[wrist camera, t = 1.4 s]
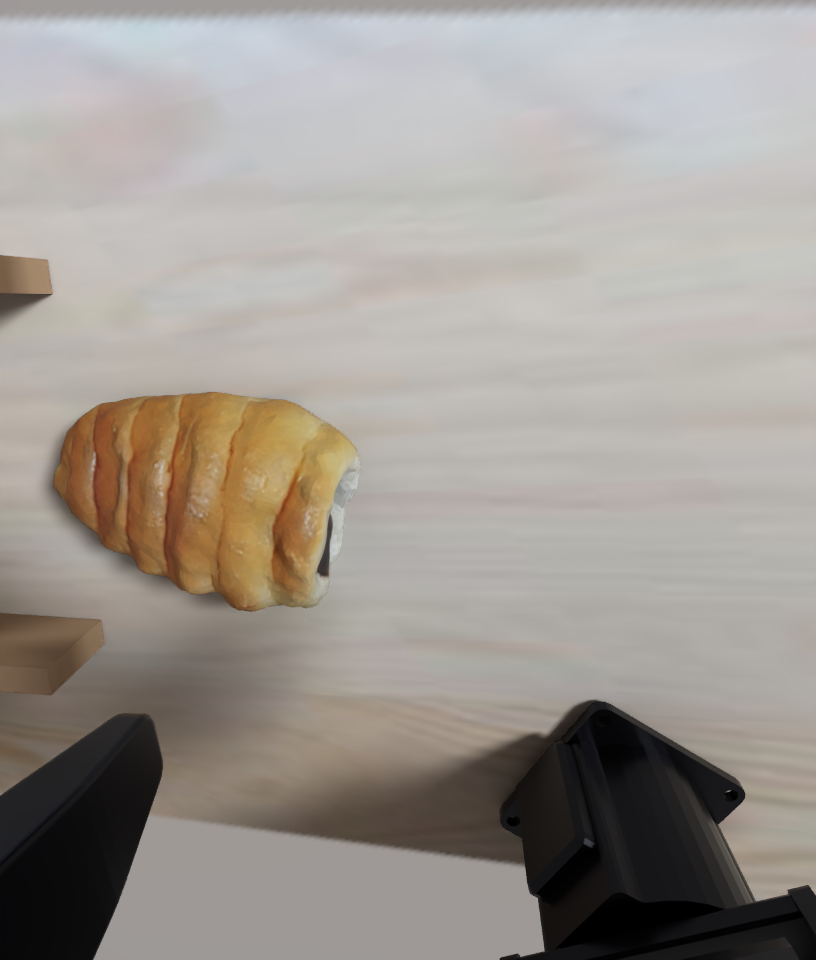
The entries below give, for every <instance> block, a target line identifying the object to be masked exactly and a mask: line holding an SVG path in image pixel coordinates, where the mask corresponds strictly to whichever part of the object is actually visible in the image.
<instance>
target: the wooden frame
mask: <svg viewBox="0 0 816 960" xmlns="http://www.w3.org/2000/svg"><path fill="white" fill-rule="evenodd" d="M0 293H17V294H52V288H51V281H50V274H49V268H48V261H47V260H45V259H35V258H24V257H14V256H3V255H0ZM103 645H104V638H103V631H102V624H101V620H90V619H75V618H61V617H46V616H31V615H17V614H2V613H0V691H3V692H15V693H28V694H41V695H52V694H53V693H54V692H55V691H56V690H57V689H58V688H59V687H60V686H61V685H62V684H64V683H65V682H66V681H67V680H68V679H69V678H70V677H71V676H72V675H73V674H74V673H75V672H76V671H77V670H78V669H79V668H80V667H81V666H82V665H83V664H84V663H85V662H86V661H87V660H88V659H89V658H90V657H91V656H92V655H93V654H94V653H95V652H96V651H98V650H99V649H100V648H101V647H102V646H103Z"/></svg>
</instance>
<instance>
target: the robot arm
mask: <svg viewBox="0 0 816 960" xmlns="http://www.w3.org/2000/svg"><path fill="white" fill-rule="evenodd" d="M601 715H606V716H607V717H606V718H605V719H601V720H600V719H597V718H598V717H599V716H601ZM162 770H163V760H162V754H161V750H160V746H159V742H158V737H157V733H156V729H155V725H154V721H153V719H152V718H151V716H149V715H147V714H134V713H123V714H118V715H116V716H114V717H113V718H111V719H110V720H108V721H107V722H105V723H104V724H102V725H101V726H100V727H98V728H97V729H95V730H94V731H92V732H91V733H89V734H88V735H87V736H85V737H84V738H82V739H81V740H79V741H78V742H77V743H75V744H74V745H72V746H71V747H69V748H68V749H66V750H65V751H64V752H62V753H61V754H59V755H58V756H56V757H55V758H53V759H52V760H51V761H49V762H48V763H46V764H45V765H43V766H42V767H41V768H39V769H38V770H36V771H35V772H33V773H32V774H30V775H29V776H28V777H26V778H25V779H23V780H22V781H20V782H19V783H18V784H16V785H15V786H13V787H12V788H10V789H9V790H7V791H6V792H5V793H3V794H2V795H0V960H93V959H94V957H95V955H96V952H97V950H98V948H99V945H100V943H101V941H102V939H103V937H104V934H105V932H106V930H107V928H108V925H109V923H110V920H111V918H112V916H113V914H114V911H115V909H116V907H117V904H118V902H119V899H120V896H121V894H122V890H123V888H124V885H125V883H126V880H127V876H128V874H129V871H130V868H131V865H132V862H133V859H134V856H135V853H136V851H137V848H138V845H139V842H140V839H141V836H142V833H143V830H144V827H145V824H146V821H147V818H148V815H149V812H150V809H151V807H152V804H153V801H154V798H155V795H156V792H157V789H158V786H159V783H160V780H161V776H162ZM728 790H731V791H730V792H726V791H728ZM725 792H726V793H725ZM744 799H745V792H744V789H743V788H742V786H741V784H740V783H739V781H738V780H737V779H736V778H734V777H733V776H731V775H729V774H728V773H726V772H724V771H723V770H721V769H719V768H717V767H716V766H714V765H712V764H711V763H709V762H707V761H706V760H704V759H702V758H701V757H699V756H697V755H696V754H694V753H692V752H690V751H689V750H687V749H685V748H684V747H682V746H680V745H679V744H677V743H675V742H674V741H672V740H670V739H668V738H667V737H665V736H663V735H662V734H660V733H658V732H657V731H655V730H653V729H652V728H650V727H648V726H647V725H645V724H643V723H641V722H640V721H638V720H636V719H635V718H633V717H631V716H630V715H628V714H626V713H625V712H623V711H621V710H619V709H618V708H616V707H614V706H613V705H611V704H609V703H606V702H597V703H594V704H592V705H591V706H590V707H589V708H588V709H587V710H586V711H585V712H584V713H583V715H582V716H581V717H580V718H579V719H578V720H577V721H576V723H575V724H574V725H573V726H572V727H571V728H570V729H569V730H568V732H567V733H566V734H565V735H564V736H563V737H562V738H561V739H560V741H558V742H556V743H554V744H553V745H552V746H551V747H550V748H549V749H548V751H547V752H546V753H545V754H544V755H543V756H542V757H541V758H540V760H539V761H538V762H537V763H536V764H535V765H534V766H533V768H532V769H531V770H530V771H529V772H528V773H527V774H526V775H525V777H524V778H523V779H522V780H521V781H520V782H519V783H518V785H517V787H516V790H515V791H514V793H513V794H512V795H511V796H510V797H509V798H508V799H507V801H506V802H505V803H504V804H503V805H502V806H501V808H500V823H501V825H502V827H504V828H505V829H506V830H508V831H510V832H512V833H513V834H515V835H517V836H519V837H521V838H522V842H523V851H524V859H525V868H526V876H527V884H528V888H529V892H530V894H532V895H533V896H535V897H537V898H538V902H539V910H540V918H541V926H542V933H543V941H544V948H545V951H544V952H540V953H536V954H531V955H527V956H523V957H520V955H519V954H514V955H510V956H506V957H501V958H500V960H816V895H815V894H814V892H813V891H812V890H811V888H810V887H809V885H806V886H802V887H798V888H793V889H789V890H787V891H788V894H787V895H783V896H778V897H774V898H770V899H766V900H761V901H757V902H756V900H755V898H754V896H753V894H752V892H751V890H750V888H749V886H748V884H747V882H746V880H745V878H744V876H743V874H742V872H741V870H740V868H739V866H738V864H737V862H736V860H735V858H734V856H733V854H732V852H731V850H730V848H729V845H728V843H727V841H726V839H725V837H724V835H723V833H722V831H721V829H720V827H719V825H718V824H719V823H720V822H722V821H723V820H724V819H725V818H726V817H727V816H728V815H729V814H730V813H731V812H732V811H733V810H734V809H735V808H736V807H738V806H739V805H740V804H741V803H742V802H743V800H744ZM510 816H516V817H510Z"/></svg>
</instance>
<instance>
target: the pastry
mask: <svg viewBox="0 0 816 960" xmlns="http://www.w3.org/2000/svg"><path fill="white" fill-rule="evenodd" d="M360 470H361V466H360V460H359V456H358V453H357V449H356V447H355V446H354V445H353V444H352V442H351V441H350V440H349V439H348V438H347V437H346V436H345V435H344V434H343V433H341V432H340V431H339V430H337V429H336V428H335V427H333V426H332V425H330V424H328V423H326V422H325V421H323V420H321V419H320V418H318V417H317V416H315V415H314V414H312V413H311V412H309V411H307V410H306V409H304V408H303V407H301V406H300V405H298V404H295V403H292V402H289V401H286V400H275V399H267V398H254V397H245V396H237V395H231V394H226V393H218V392H207V393H200V394H182V395H164V396H143V397H137V398H130V399H124V400H120V401H117V402H109V403H102V404H100V405H98V406H96V407H94V408H93V409H92V410H90V411H89V412H88V413H86V414H85V415H83V416H82V417H81V418H79V420H78V421H77V422H76V423H75V424H74V425H73V426H72V427H71V428H70V429H69V431H68V432H67V434H66V437H65V441H64V444H63V448H62V452H61V460H60V464H59V466H58V468H57V469H56V471H55V475H54V480H53V486H54V488H55V489H56V490H57V492H58V493H59V495H60V496H61V497H62V498H63V499H64V500H65V501H66V502H67V504H68V506H69V508H70V510H71V512H72V513H73V514H74V515H75V516H76V517H77V518H78V519H79V520H81V521H82V522H83V523H84V524H85V525H87V526H88V527H89V528H90V529H92V530H93V531H94V532H95V533H97V534H98V536H99V537H100V539H101V543H102V544H103V545H104V547H105V548H108V549H110V550H112V551H114V552H119V553H124V554H128V555H130V556H131V557H132V558H133V559H134V560H135V561H136V563H137V565H138V567H139V569H140V570H141V571H142V572H144V573H146V574H151V575H162V576H166V577H168V578H170V579H171V580H172V581H173V583H175V584H176V585H177V586H178V588H179V589H181V590H184V591H187V592H188V593H191V594H206V593H209V592H217V593H220V594H221V595H223V596H224V598H225V599H226V600H227V602H228V603H229V605H230V606H231V607H233V608H235V609H237V610H244V611H250V612H252V611H257V610H261V609H263V608H266V607H270V606H276V605H286V606H289V607H300V606H301V607H304V608H309V607H313V606H316V605H318V603H319V602H320V601H321V600H322V598H323V597H324V596H325V595H326V593H327V590H328V586H329V583H330V564H331V563H333V562H335V561H336V559H337V556H338V554H339V551H340V548H341V543H342V540H343V532H342V530H343V526H344V506H345V505H346V503H347V502H348V501H349V500H350V499H351V498H352V496H353V495H354V493H355V491H356V489H357V487H358V477H359V473H360Z"/></svg>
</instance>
